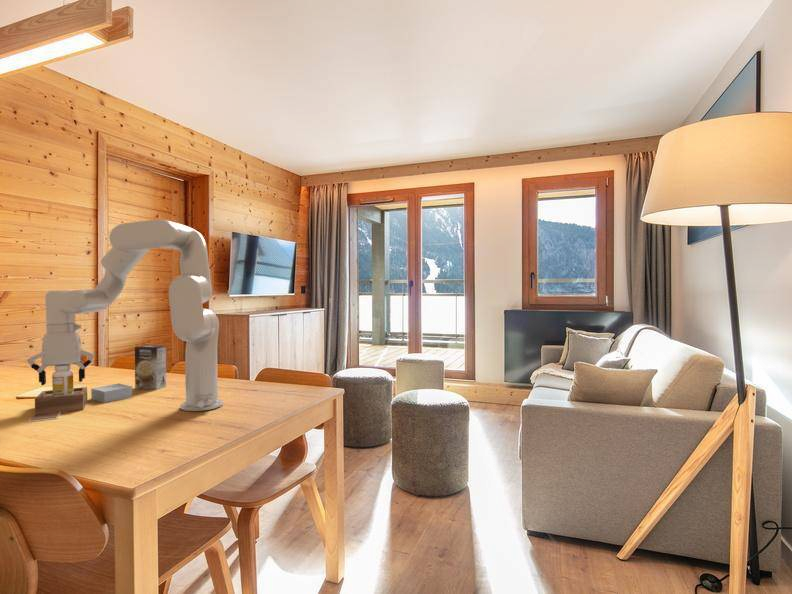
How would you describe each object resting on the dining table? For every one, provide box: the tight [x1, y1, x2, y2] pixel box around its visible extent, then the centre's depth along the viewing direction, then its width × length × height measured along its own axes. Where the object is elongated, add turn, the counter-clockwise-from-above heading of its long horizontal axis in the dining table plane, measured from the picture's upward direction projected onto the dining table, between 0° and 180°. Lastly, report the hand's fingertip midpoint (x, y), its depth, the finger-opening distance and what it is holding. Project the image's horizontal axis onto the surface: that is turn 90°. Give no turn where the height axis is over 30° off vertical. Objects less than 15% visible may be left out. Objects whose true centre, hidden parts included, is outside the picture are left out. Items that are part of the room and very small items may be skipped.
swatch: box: [27, 412, 62, 423], centre depth 134 cm, size 7×7×1 cm
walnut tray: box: [34, 386, 88, 414], centre depth 144 cm, size 12×12×5 cm
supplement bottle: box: [51, 364, 74, 397], centre depth 144 cm, size 5×5×10 cm
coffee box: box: [134, 344, 167, 391], centre depth 172 cm, size 9×6×16 cm
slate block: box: [90, 383, 133, 404], centre depth 156 cm, size 9×9×4 cm
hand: (62, 382), depth 144 cm, fingers open, 9 cm apart
